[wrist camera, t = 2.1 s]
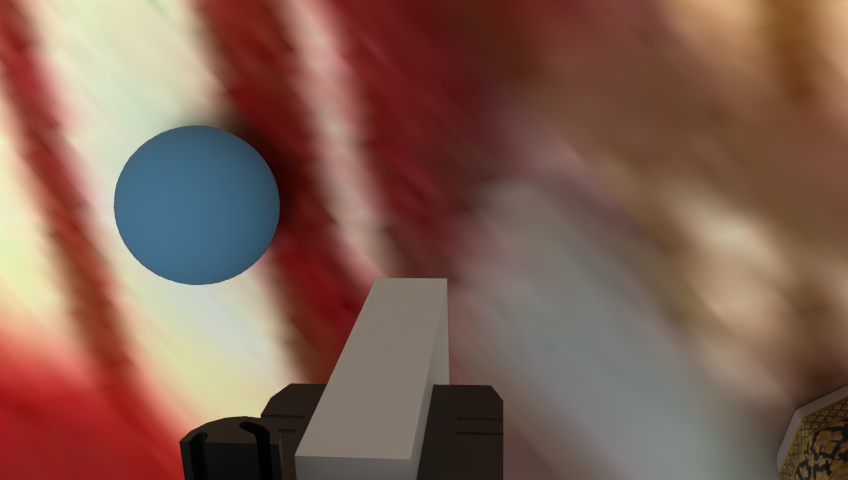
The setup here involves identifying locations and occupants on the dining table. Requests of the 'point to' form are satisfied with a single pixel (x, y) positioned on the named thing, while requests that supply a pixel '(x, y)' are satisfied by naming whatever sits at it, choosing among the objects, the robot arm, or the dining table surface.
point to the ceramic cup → (817, 440)
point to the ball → (196, 205)
